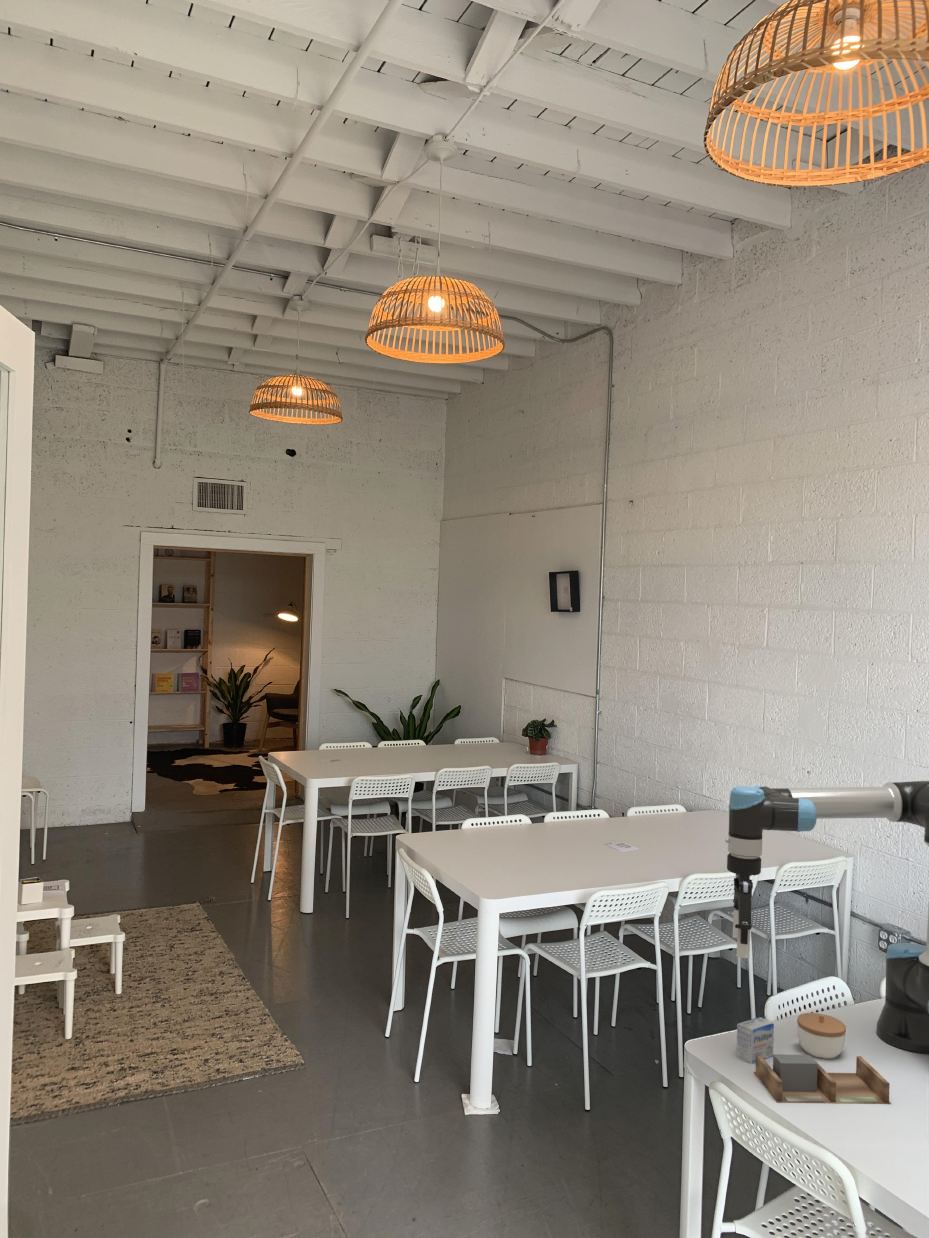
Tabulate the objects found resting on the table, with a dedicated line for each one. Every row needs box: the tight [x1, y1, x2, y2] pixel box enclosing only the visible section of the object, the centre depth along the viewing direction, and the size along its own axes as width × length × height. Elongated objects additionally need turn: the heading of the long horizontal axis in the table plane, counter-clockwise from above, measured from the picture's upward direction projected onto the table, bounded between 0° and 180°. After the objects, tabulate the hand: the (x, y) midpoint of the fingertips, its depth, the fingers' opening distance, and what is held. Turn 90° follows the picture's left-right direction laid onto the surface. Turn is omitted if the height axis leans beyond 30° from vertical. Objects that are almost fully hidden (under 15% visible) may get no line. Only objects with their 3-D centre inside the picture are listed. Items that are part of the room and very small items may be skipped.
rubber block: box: [772, 1053, 818, 1092], centre depth 191 cm, size 8×4×6 cm, turn 93°
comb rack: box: [753, 1055, 892, 1105], centre depth 191 cm, size 13×24×5 cm, turn 93°
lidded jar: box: [796, 1012, 847, 1060], centre depth 209 cm, size 11×11×9 cm
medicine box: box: [735, 1016, 775, 1065], centre depth 205 cm, size 8×4×9 cm, turn 123°
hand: (740, 947), depth 204 cm, fingers open, 13 cm apart
